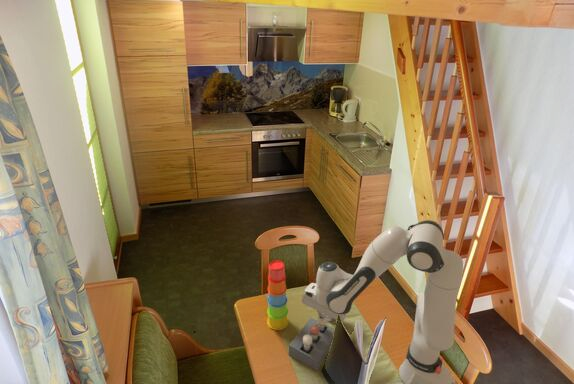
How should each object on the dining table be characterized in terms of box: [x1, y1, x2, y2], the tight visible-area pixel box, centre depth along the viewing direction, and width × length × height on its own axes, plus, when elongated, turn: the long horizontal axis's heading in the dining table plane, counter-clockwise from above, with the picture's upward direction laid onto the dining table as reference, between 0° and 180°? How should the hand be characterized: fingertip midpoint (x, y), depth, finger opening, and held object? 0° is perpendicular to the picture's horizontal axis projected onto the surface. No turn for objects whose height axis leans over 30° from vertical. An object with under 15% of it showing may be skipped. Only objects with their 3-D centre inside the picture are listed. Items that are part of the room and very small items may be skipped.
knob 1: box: [303, 335, 313, 351], centre depth 162 cm, size 4×4×6 cm
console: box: [288, 317, 336, 371], centre depth 170 cm, size 14×19×6 cm
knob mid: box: [310, 325, 320, 341], centre depth 167 cm, size 4×4×6 cm
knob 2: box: [316, 317, 328, 331], centre depth 172 cm, size 4×4×6 cm
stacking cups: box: [266, 260, 290, 331], centre depth 175 cm, size 10×10×35 cm
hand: (322, 318), depth 170 cm, fingers closed
